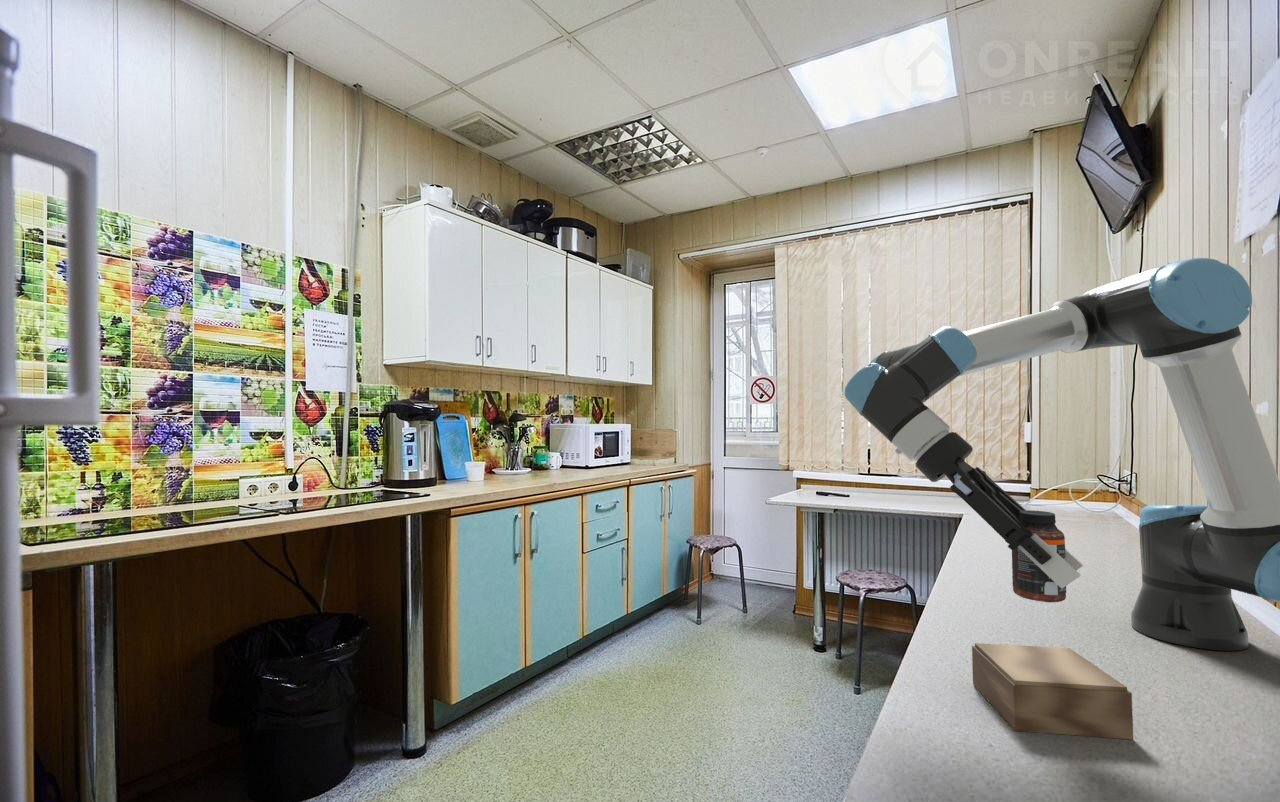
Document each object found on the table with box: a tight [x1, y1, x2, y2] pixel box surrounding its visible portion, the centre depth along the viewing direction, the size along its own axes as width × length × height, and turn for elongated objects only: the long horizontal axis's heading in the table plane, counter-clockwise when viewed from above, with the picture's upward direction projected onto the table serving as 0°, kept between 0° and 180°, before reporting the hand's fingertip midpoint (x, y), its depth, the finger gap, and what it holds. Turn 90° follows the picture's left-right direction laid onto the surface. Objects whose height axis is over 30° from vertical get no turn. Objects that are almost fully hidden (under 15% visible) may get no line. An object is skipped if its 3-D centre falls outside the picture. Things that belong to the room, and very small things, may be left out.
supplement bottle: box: [1011, 509, 1067, 603], centre depth 78 cm, size 6×6×11 cm
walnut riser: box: [971, 642, 1134, 740], centre depth 77 cm, size 13×13×6 cm
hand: (1072, 576), depth 76 cm, fingers closed on supplement bottle, 6 cm apart
